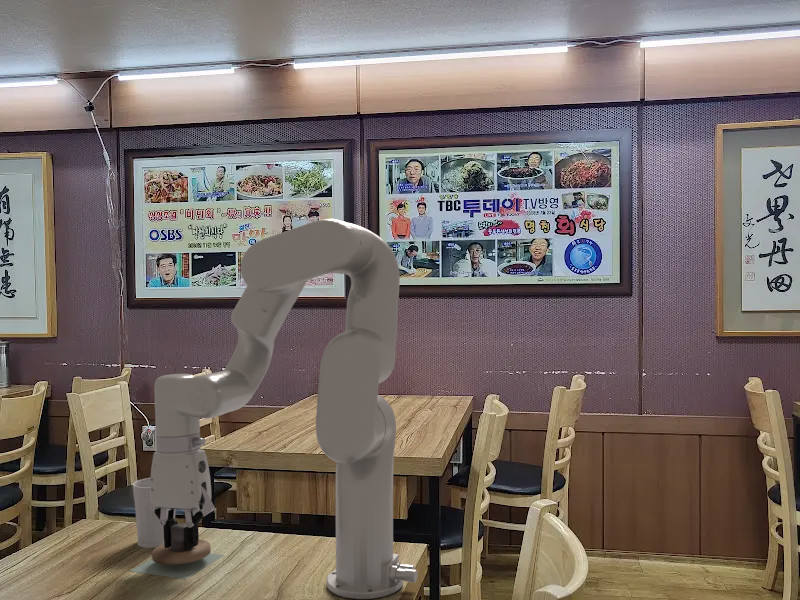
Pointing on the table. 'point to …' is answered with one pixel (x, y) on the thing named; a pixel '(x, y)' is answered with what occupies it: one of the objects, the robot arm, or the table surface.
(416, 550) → the table surface
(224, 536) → the table surface
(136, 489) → the cup
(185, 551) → the lid
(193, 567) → the mat
